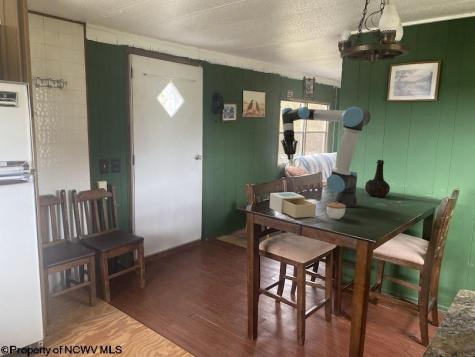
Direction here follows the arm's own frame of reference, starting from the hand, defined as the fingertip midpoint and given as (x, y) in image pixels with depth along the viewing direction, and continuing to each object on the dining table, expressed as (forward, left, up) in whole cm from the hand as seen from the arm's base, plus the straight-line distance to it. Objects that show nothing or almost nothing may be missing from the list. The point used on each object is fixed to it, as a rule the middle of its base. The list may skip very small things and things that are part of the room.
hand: (290, 164), depth 248 cm
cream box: (+4, +29, -25) cm, 38 cm away
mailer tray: (+1, +36, -24) cm, 43 cm away
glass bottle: (-71, -29, -25) cm, 81 cm away
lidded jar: (-23, +42, -25) cm, 54 cm away
